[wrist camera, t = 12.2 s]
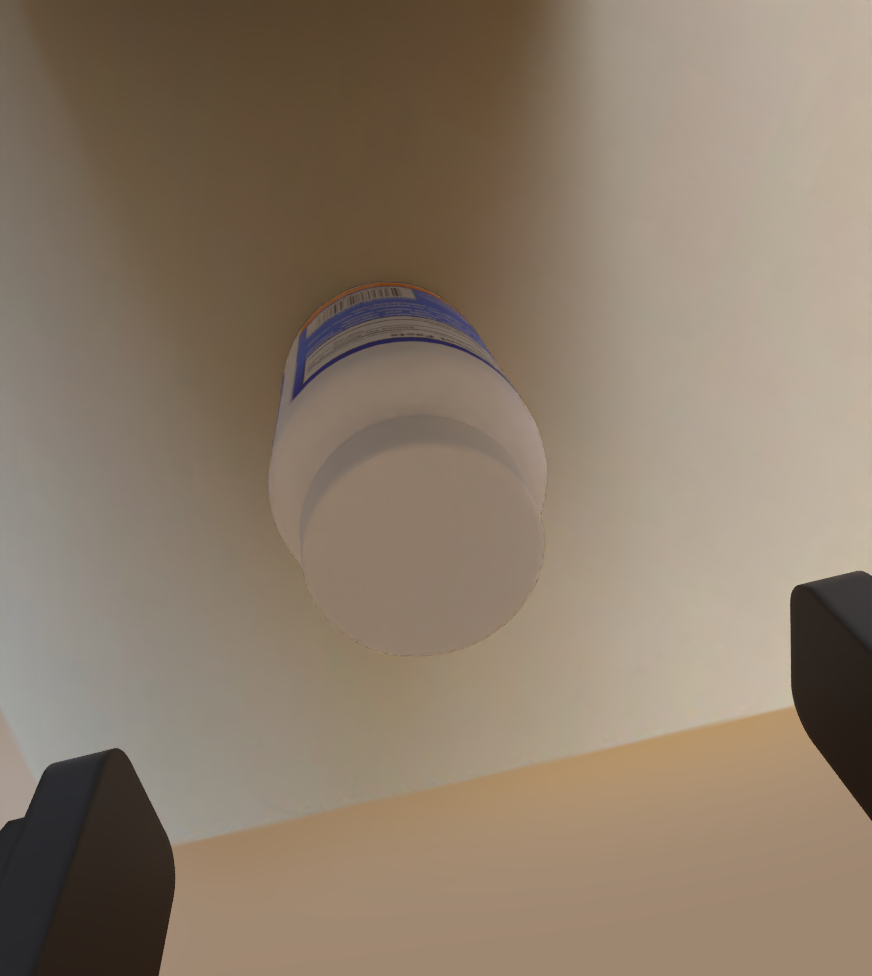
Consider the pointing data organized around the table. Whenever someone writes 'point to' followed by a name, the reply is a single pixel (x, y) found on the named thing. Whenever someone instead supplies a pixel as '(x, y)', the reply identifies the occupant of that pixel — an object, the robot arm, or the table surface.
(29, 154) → the table surface
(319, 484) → the pill bottle
